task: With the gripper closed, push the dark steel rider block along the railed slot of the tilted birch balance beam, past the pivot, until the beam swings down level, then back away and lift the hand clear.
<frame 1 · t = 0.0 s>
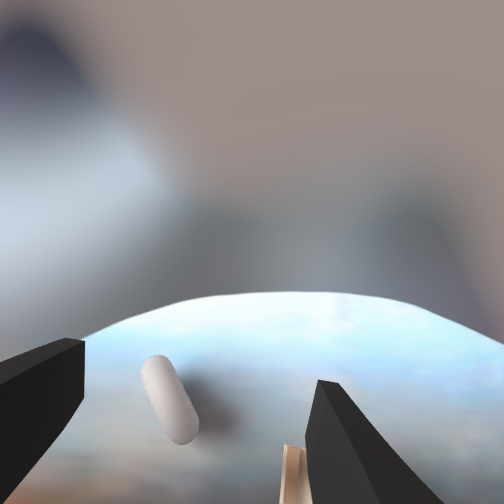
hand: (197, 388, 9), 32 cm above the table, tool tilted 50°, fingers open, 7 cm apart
donut: (176, 404, 38), on the table
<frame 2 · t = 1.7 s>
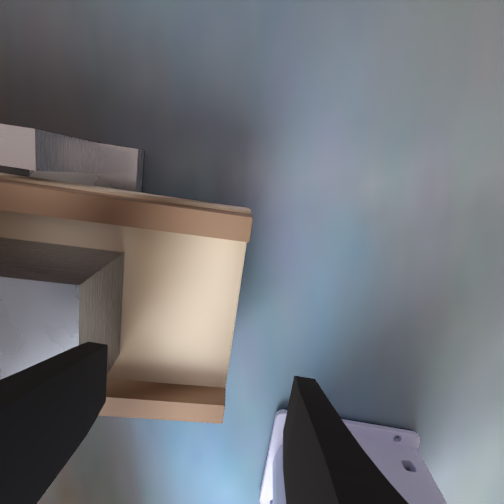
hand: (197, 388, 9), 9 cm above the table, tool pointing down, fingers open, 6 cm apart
rider: (52, 298, 13), point 5 cm above the table, tilted 7°, touching beam
pivot stand: (89, 261, 18), on the table
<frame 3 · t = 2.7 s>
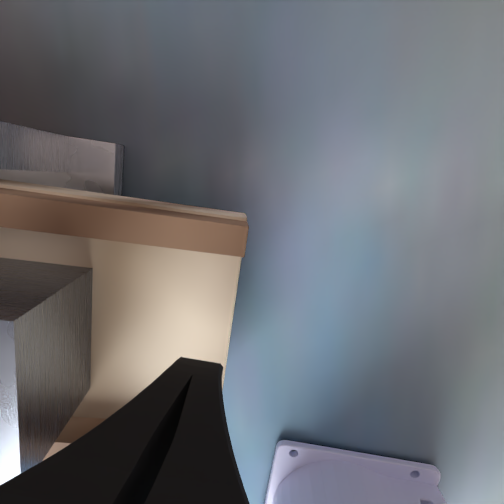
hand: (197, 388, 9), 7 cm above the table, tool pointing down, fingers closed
rider: (5, 323, 11), point 5 cm above the table, tilted 7°, touching beam
pivot stand: (63, 273, 16), on the table
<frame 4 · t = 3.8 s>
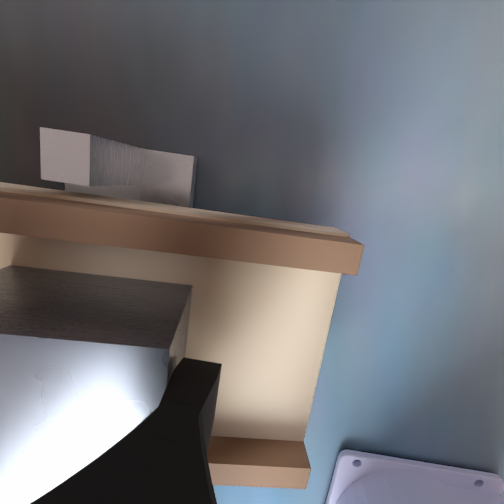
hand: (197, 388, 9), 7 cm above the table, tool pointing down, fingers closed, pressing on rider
beam: (38, 332, 11), point 5 cm above the table, hinge at -6.8°, touching rider
rider: (102, 340, 11), point 5 cm above the table, tilted 7°, touching beam, gripper
pivot stand: (129, 284, 16), on the table
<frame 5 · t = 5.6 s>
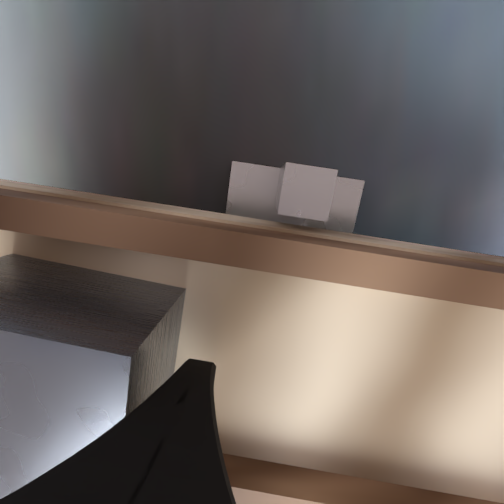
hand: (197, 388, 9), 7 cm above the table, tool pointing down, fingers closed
beam: (246, 363, 11), point 5 cm above the table, hinge at 0.6°, touching rider
rider: (94, 336, 11), point 5 cm above the table, touching beam, gripper
pivot stand: (272, 306, 16), on the table
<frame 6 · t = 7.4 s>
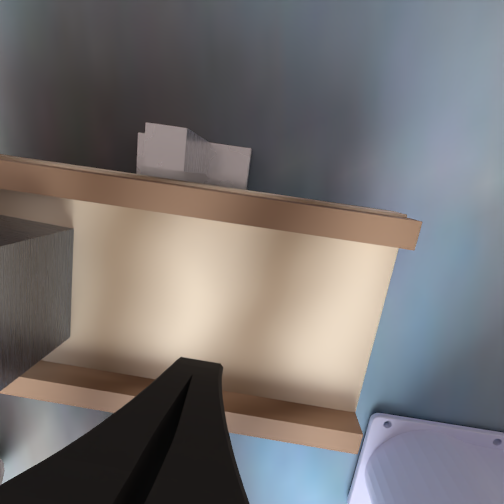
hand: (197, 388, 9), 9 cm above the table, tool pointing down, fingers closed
beam: (130, 293, 13), point 5 cm above the table, hinge at 0.6°, touching rider
rider: (4, 272, 13), point 5 cm above the table, touching beam
pivot stand: (186, 263, 18), on the table
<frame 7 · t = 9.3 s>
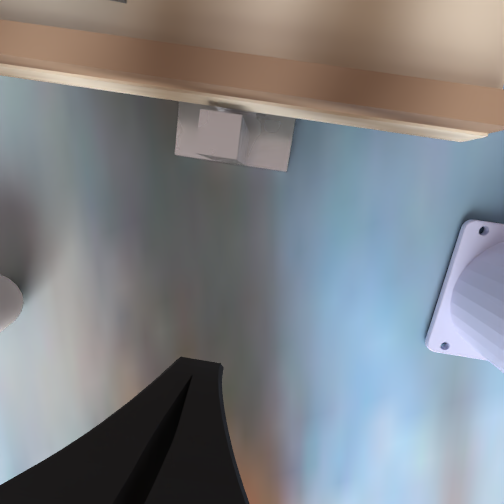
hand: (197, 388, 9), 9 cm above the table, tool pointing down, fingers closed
donut: (1, 304, 20), on the table
pivot stand: (250, 19, 15), on the table
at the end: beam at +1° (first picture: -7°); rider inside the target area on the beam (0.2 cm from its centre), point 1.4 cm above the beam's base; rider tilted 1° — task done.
